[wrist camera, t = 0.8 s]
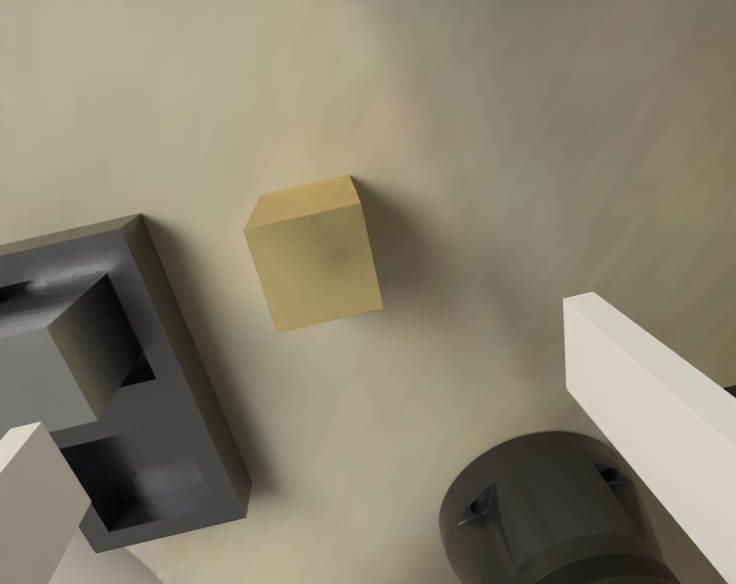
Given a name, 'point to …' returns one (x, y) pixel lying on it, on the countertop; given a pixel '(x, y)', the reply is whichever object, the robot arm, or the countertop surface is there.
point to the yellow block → (313, 254)
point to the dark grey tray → (140, 398)
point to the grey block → (63, 352)
